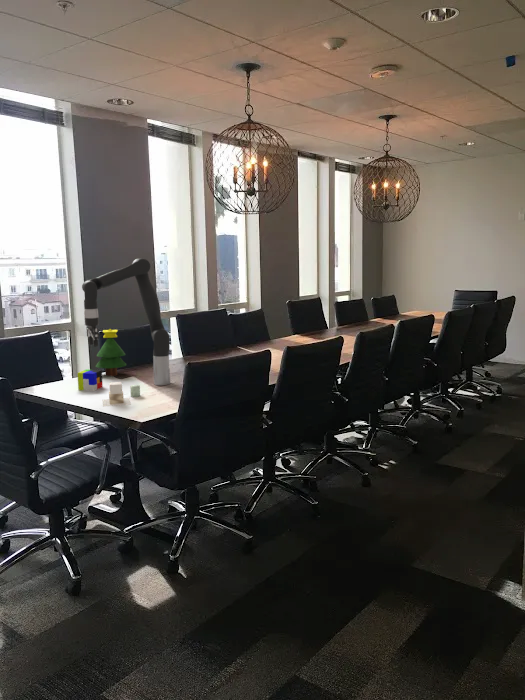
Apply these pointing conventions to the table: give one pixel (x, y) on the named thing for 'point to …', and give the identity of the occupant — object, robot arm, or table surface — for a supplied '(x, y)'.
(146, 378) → the table surface
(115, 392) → the tower mid
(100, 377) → the puzzle toy
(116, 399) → the tower base
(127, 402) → the felt mat
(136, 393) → the pale green block
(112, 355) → the decorative tree
